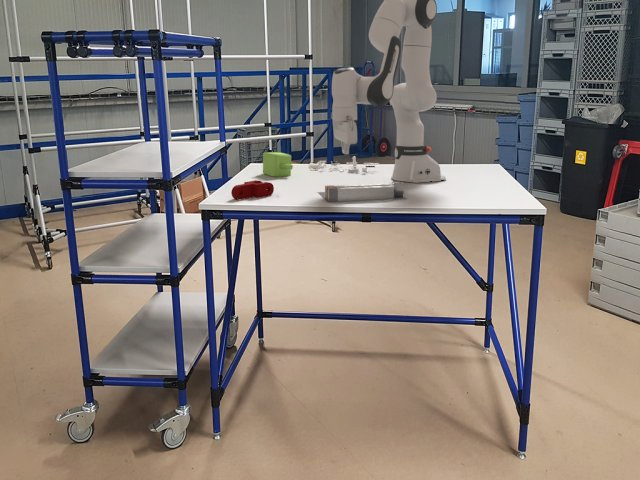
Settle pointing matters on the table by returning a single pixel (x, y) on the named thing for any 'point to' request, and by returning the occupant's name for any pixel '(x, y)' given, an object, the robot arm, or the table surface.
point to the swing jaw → (352, 186)
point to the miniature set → (354, 169)
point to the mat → (353, 201)
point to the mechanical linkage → (252, 189)
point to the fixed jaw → (366, 193)
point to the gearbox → (277, 164)
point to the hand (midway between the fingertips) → (345, 153)
